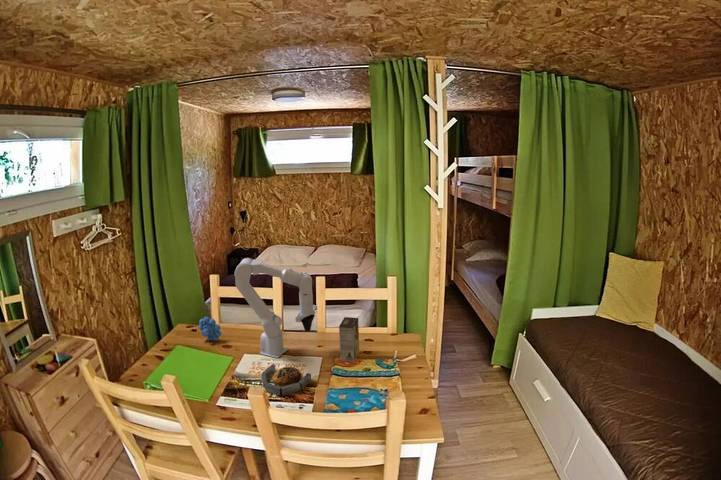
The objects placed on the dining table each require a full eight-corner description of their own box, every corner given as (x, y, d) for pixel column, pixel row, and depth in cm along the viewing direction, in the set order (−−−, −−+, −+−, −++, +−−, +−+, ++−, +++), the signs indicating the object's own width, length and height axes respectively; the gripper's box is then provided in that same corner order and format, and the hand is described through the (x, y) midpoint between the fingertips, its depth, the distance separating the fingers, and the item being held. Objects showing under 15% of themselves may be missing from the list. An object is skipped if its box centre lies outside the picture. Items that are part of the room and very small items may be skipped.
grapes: (194, 343, 162) (191, 320, 160) (203, 337, 169) (201, 313, 166) (216, 346, 160) (213, 322, 157) (225, 339, 166) (222, 315, 163)
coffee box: (345, 349, 155) (344, 316, 151) (359, 351, 153) (358, 317, 150) (339, 361, 146) (338, 325, 143) (354, 362, 145) (354, 327, 141)
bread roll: (299, 387, 129) (296, 374, 128) (270, 391, 129) (267, 379, 129) (303, 370, 140) (301, 359, 139) (276, 375, 140) (274, 363, 140)
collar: (252, 387, 129) (251, 381, 129) (272, 369, 140) (272, 364, 140) (293, 399, 123) (293, 392, 122) (311, 379, 134) (310, 373, 133)
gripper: (305, 309, 142) (306, 339, 145) (322, 297, 155) (323, 325, 158) (290, 306, 145) (292, 336, 148) (309, 295, 158) (310, 322, 161)
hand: (307, 330), depth 153 cm, fingers closed
